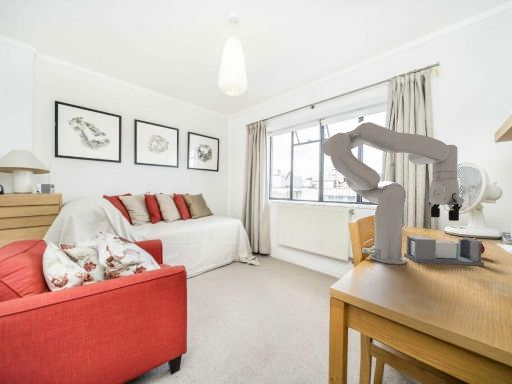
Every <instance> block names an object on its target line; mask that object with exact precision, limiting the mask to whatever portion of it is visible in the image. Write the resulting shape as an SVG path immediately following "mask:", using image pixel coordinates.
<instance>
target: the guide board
mask: <svg viewBox="0 0 512 384" xmlns="http://www.w3.org/2000/svg"><path fill="white" fill-rule="evenodd" d="M411 240H415V256H413V255H411V254H410V244H411ZM436 241H437V240H436V239H435V238H431V237H428V236H426V235H425V236H424V235H406V253H405V252H404V253H403V257H404V258H406V259H409V260H411V261H413V263H420V264H421V263H422V264H441V265H464V266H465V265H466V266H467V265H468V266H485V262H484V261H482V260H481V262H476V261H470V258H467V257H460V256H458V259H452V258H435V255H436Z"/></svg>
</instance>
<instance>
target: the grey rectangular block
mask: <svg viewBox="0 0 512 384" xmlns="http://www.w3.org/2000/svg"><path fill="white" fill-rule="evenodd" d="M458 243H459V242H458ZM458 243H457V242H455V241H451V240H436V255H435V258H452V259H458V247H459V244H458ZM410 254H411V255H413V256H415V240H411V244H410Z"/></svg>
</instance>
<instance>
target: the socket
mask: <svg viewBox="0 0 512 384" xmlns="http://www.w3.org/2000/svg"><path fill="white" fill-rule="evenodd" d="M458 244H459V247H458V256H460V257H467V258H470V261H476V262H481V261H482V254H481V244H483V241H482V240H478V239H477V240H475V239H473V238H470V237H466V236H465V237H464V236H463V237H462V238H460V239H458Z"/></svg>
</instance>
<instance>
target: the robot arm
mask: <svg viewBox="0 0 512 384" xmlns="http://www.w3.org/2000/svg"><path fill="white" fill-rule="evenodd" d="M362 145H366V146H367V147H371V148H373V149H376V150H379V151H382V152H385V153H388V154H397V153H398V154H401V153H402V154H408V160H409V161H410V163H412V164H414V165H419V166H422V165H428V164H429V165H430V164H432V170H431V171H432V173H431V175H432V179H431V182H430V186H429V195H428V197H427V200H428V204H429V208H430V217H431V218H440V217H441V208H440V206H441V205H442V206H446V205H447V206H448V221H449V222H459V221H460V211H461V208H462V207H463V204H464V201H465V200H464V198H463V197H462V196H460V189H459V188H460V187H459V181H458V154H459V153H458V151H459V150H458V146H457V145H455V144H446V143H445V142H444V141H442V140H439V139H436V138H434V137H431V136H428V135H424V134H417V133H409V132H399V131H396V130H392V129H390V128H387V127H384V126H382V125H379V124H376V123H374V122H371V121H361V122H360V123H357V124H356V125H354V126H353V127H352V128H350V129H347V130H345V131H342V130H340V131H336V132H334V133H332V134H331V135H330V136H329V137H326V139H324V141H323V143H322V146H321V149H322V152H323V154H324V155H326V156H327V157H330V160H331V163H332V166H333V168H334V170H336V171H337V172H338V173H339V174H341V175H342V176H343V177H344V178H345V182H346V184H347V186H348V187H349V189H350V190H352V191H354V192H355V193H356V194H357V195H359V196H360V197H362V198H363V199H365V200H367V201H368V202H370V203H373V204H376V208H375V213H374V244H373V245H372V246H371V247H369V248H367V247H362V248H361V253H363V254H367V255H369V257H370V258H371V259H372V260H373V261H376V262H379V263H383V264H389V265H405V264H406V263H407V257H405V256H403V251H402V250H403V213H404V207H405V206H404V205H405V202H406V198H407V192H406V189H405V188H404V186H402V184H401V183H399V182H396V181H395V182H394V181H381V176H380V174H379V173H378V172H377V171H376V170H375V169H373V168H372V167H370V166H368V165H367V164H366V163H365V162H363V161H361V160H360V159H359V158H357V157H356V156H355V155H354V154H353V151H352V150H353V149H355V148H357V147H359V146H362Z"/></svg>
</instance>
